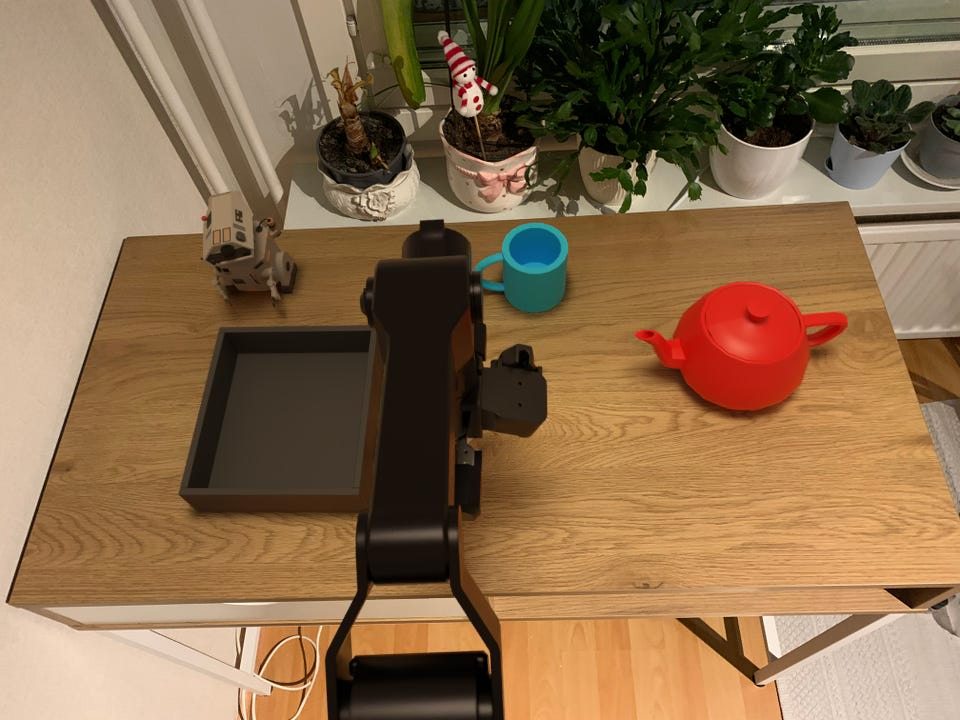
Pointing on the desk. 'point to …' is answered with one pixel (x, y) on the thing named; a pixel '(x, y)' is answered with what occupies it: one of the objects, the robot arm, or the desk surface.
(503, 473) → the desk surface
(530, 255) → the mug
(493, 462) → the desk surface
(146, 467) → the desk surface
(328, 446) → the dark grey tray
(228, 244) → the figurine
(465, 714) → the robot arm
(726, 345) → the teapot
